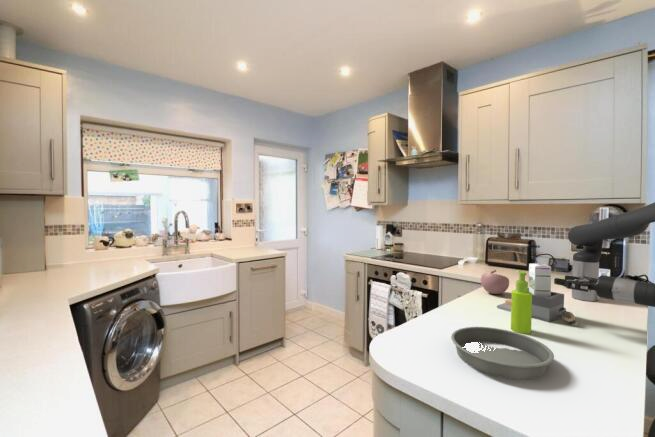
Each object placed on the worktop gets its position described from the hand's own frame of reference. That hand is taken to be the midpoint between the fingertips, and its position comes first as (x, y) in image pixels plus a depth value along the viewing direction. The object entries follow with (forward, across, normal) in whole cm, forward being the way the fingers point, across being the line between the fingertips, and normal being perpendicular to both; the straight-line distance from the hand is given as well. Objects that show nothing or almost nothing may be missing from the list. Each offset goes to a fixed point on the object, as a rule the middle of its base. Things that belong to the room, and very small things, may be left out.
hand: (560, 279), depth 115 cm
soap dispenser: (+3, +22, +15) cm, 27 cm away
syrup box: (+7, 0, +10) cm, 12 cm away
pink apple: (+32, -14, +15) cm, 38 cm away
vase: (-3, +2, +15) cm, 16 cm away
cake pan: (-4, +48, +16) cm, 51 cm away
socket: (+10, 0, +15) cm, 18 cm away
